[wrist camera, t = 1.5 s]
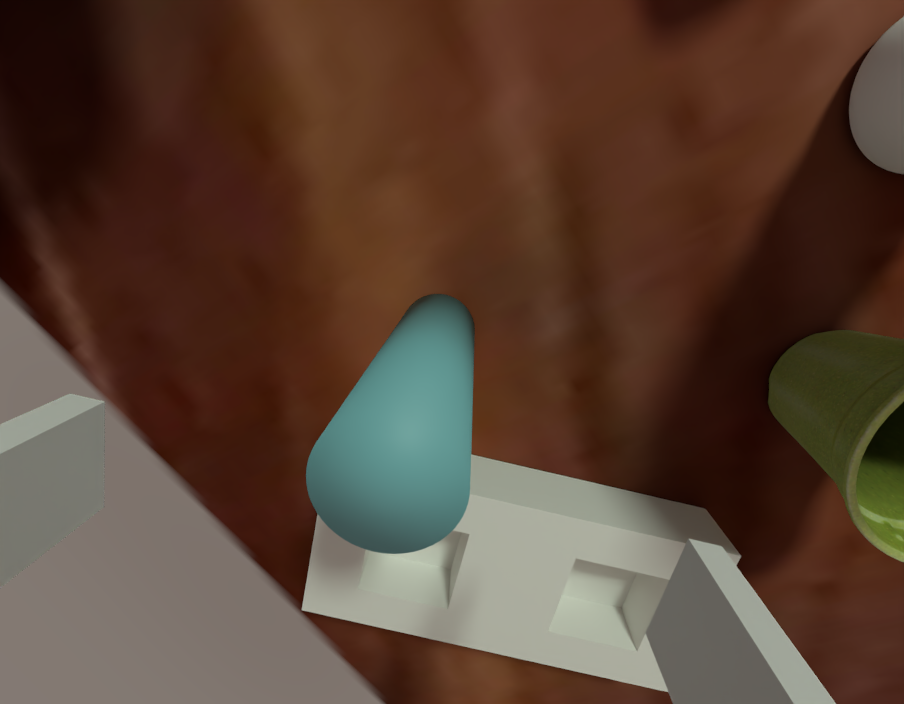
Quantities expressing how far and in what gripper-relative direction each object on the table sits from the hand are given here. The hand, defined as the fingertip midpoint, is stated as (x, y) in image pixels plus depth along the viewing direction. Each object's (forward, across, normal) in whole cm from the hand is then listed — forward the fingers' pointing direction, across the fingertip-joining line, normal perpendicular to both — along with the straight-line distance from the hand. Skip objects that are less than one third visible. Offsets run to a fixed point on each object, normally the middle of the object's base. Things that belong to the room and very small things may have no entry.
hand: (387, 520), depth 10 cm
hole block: (+16, +7, -12) cm, 21 cm away
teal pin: (+16, 0, 0) cm, 16 cm away
